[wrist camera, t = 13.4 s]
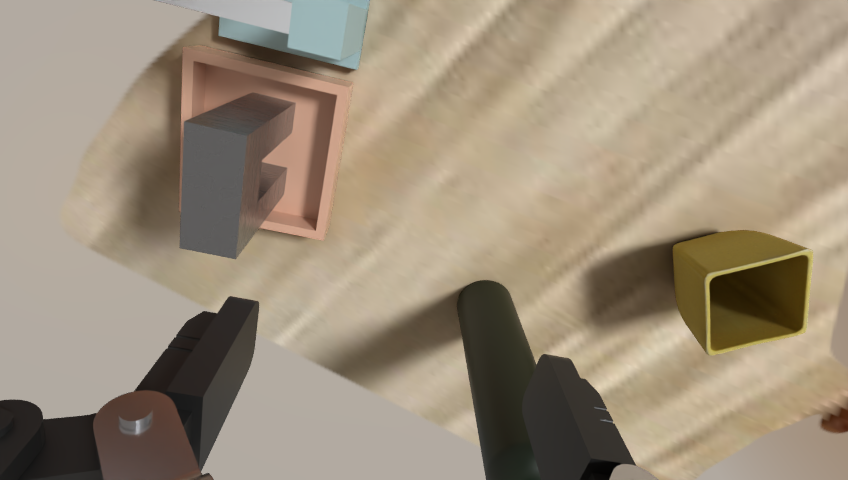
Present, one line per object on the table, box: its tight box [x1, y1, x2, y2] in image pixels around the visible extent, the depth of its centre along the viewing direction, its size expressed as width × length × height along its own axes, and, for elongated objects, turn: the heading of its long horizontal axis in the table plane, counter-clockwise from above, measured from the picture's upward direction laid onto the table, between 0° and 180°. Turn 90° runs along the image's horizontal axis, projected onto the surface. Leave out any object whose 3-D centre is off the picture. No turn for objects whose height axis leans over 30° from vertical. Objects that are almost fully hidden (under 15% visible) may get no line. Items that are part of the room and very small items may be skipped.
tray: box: [179, 45, 353, 241], centre depth 40 cm, size 14×13×3 cm
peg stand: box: [155, 0, 370, 70], centre depth 31 cm, size 6×14×13 cm, turn 77°
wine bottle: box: [457, 280, 541, 480], centre depth 36 cm, size 6×6×30 cm
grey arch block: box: [180, 92, 296, 259], centre depth 35 cm, size 8×4×13 cm, turn 166°
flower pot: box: [673, 230, 813, 356], centre depth 44 cm, size 9×9×9 cm
